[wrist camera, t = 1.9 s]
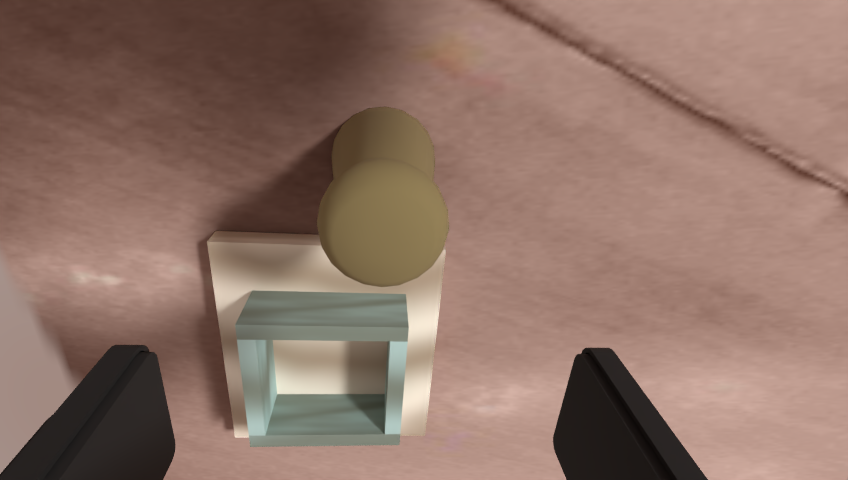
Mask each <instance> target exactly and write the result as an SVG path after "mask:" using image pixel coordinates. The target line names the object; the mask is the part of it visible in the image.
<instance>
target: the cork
mask: <svg viewBox="0 0 848 480" xmlns="http://www.w3.org/2000/svg"><path fill="white" fill-rule="evenodd" d="M331 159H332V169H333V181H331V183H330V185H329V187H328V188H327V190H326V192H325V194H324V196H323V198H322V200H321V202H320V205H319V212H318V218H317V228H318V233H319V238H320V242H321V246H322V249H323V250H324V252H325V254H326V255H327V257H328V259H329V260H330V262H331V264H332V265H334V266H335V267H336V268H337V269H338V270H339V271H340V272H341V273H343V274H344V275H345V276H347V277H349V278H351V279H353V280H355V281H357V282H360V283H362V284H365V285H371V286H377V287H388V286H397V285H401V284H404V283H406V282H409V281H411V280H414V279H416V278H418V277H419V276H421V275H422V274H423V273H425V272H426V271H427V270H428V269H430V268H431V267H432V266H433V265H434V263H435V262H436V260H437V259H438V257H439V256H440V255H441V253H442V251H443V248H444V245H445V241H446V238H447V234H448V230H449V222H448V209H447V207H446V204H445V202H444V199H443V197H442V195H441V192H440V190H439V187H438V186H437V185H436V184H435V183H434V182H433V178H434V167H435V157H434V146H433V144H432V141H431V139H430V136H429V134H428V132H427V130H426V129H425V128H424V127H423V126H422V125H421V123H420V122H419V121H418V120H417V119H416V118H414V117H412V116H411V115H409V114H407V113H406V112H404V111H402V110H398V109H394V108H389V107H377V108H369V109H366V110H364V111H362V112H360V113H357V114H355V115H353V116H352V117H351V118H350V119H349V120H348V121H347V122H346V123H345V124H344V125H342V126H341V128H340V130H339V132H338V134H337V136H336V138H335V140H334V143H333V149H332V155H331Z"/></svg>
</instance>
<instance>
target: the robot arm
mask: <svg viewBox="0 0 848 480" xmlns="http://www.w3.org/2000/svg"><path fill="white" fill-rule="evenodd" d="M553 444H554V450H555V453H556V455H557V458H558V460H559V462H560V465H561V467H562V470H563V472H564V474H565V477H566V479H567V480H708V479H707V478H706V477H705V475H704V474H703V472H702V471H701V470H700V468H699V467H698V466H697V464H696V463H695V462H694V460H693V459H692V457H691V456H690V455H689V453H688V452H687V451H686V449H685V448H684V447H683V445H682V444H681V442H680V441H679V440H678V438H677V437H676V436H675V434H674V433H673V432H672V430H671V429H670V427H669V426H668V425H667V423H666V422H665V421H664V419H663V418H662V417H661V415H660V414H659V412H658V411H657V410H656V408H655V407H654V406H653V404H652V403H651V401H650V400H649V399H648V397H647V396H646V395H645V393H644V392H643V391H642V389H641V388H640V386H639V385H638V384H637V382H636V381H635V380H634V378H633V377H632V376H631V374H630V373H629V371H628V370H627V369H626V367H625V366H624V365H623V363H622V362H621V361H620V359H619V358H618V356H617V355H616V354H615V352H614V351H613V350H612V349H610V348H585V349H584V350H583V351H582V353H581V354H577V355H576V357H575V359H574V363H573V366H572V370H571V374H570V377H569V381H568V385H567V388H566V392H565V396H564V399H563V403H562V407H561V410H560V414H559V418H558V421H557V425H556V429H555V432H554V437H553ZM174 453H175V439H174V434H173V429H172V424H171V420H170V415H169V410H168V406H167V401H166V396H165V391H164V387H163V382H162V377H161V372H160V368H159V363H158V358H157V355H156V354H155V353H154V352H149V350H148V348H147V347H146V346H144V345H114V346H112V347H111V348H110V349H109V350H108V351H107V352H106V353H105V354H104V356H103V357H102V358H101V359H100V360H99V361H98V363H97V364H96V365H95V366H94V367H93V368H92V370H91V371H90V372H89V373H88V374H87V376H86V377H85V378H84V379H83V380H82V381H81V383H80V384H79V385H78V386H77V387H76V388H75V390H74V391H73V392H72V393H71V394H70V395H69V397H68V398H67V399H66V400H65V401H64V403H63V404H62V405H61V406H60V407H59V408H58V410H57V411H56V412H55V413H54V414H53V415H52V416H51V417H50V418H49V419H48V420H46V421H45V423H44V424H43V425H42V426H41V427H40V429H39V430H38V431H37V432H36V433H35V434H34V435H33V437H32V438H31V439H30V440H29V441H28V442H27V444H26V445H25V446H24V447H23V448H22V449H21V451H20V452H19V453H18V454H17V455H16V457H15V458H14V459H13V460H12V461H11V462H10V463H9V465H8V466H7V467H6V468H5V469H4V470H3V472H2V473H1V474H0V480H163V478H164V476H165V474H166V472H167V470H168V468H169V466H170V464H171V462H172V459H173V457H174Z"/></svg>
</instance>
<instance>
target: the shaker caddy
mask: <svg viewBox="0 0 848 480" xmlns="http://www.w3.org/2000/svg"><path fill="white" fill-rule="evenodd" d="M207 246H208V253H209V260H210V267H211V274H212V281H213V288H214V295H215V301H216V308H217V315H218V322H219V329H220V336H221V343H222V350H223V357H224V364H225V371H226V378H227V385H228V392H229V399H230V406H231V413H232V420H233V427H234V434H235V438H249V441H250V447H277V446H356V445H399V443H400V436H425V430H426V422H427V413H428V404H429V395H430V386H431V377H432V369H433V360H434V351H435V342H436V333H437V324H438V316H439V307H440V298H441V289H442V280H443V271H444V263H445V254H446V248H445V245H444V248H443V251H442V253H441V255H440V256H439V257H438V259H437V260H436V262H435V263H434V265H433V266H432V267H431V268H430V269H428V270H427V271H426V272H425V273H423V274H422V275H421V276H419V277H418V278H416V279H414V280H411V281H409V282H406V283H404V284H401V285H397V286H388V287H377V286H371V285H365V284H362V283H360V282H357V281H355V280H353V279H351V278H349V277H347V276H345V275H344V274H343V273H341V272H340V271H339V270H338V269H337V268H336V267H335V266H334V265H332V264H331V262H330V260H329V259H328V257H327V255H326V254H325V252H324V250H323V249H322V246H321V242H320V238H319V235H313V234H287V233H260V232H233V231H215V232H214V233H213V235H212V236H211V237H210V238H209V240H208V241H207Z"/></svg>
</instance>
